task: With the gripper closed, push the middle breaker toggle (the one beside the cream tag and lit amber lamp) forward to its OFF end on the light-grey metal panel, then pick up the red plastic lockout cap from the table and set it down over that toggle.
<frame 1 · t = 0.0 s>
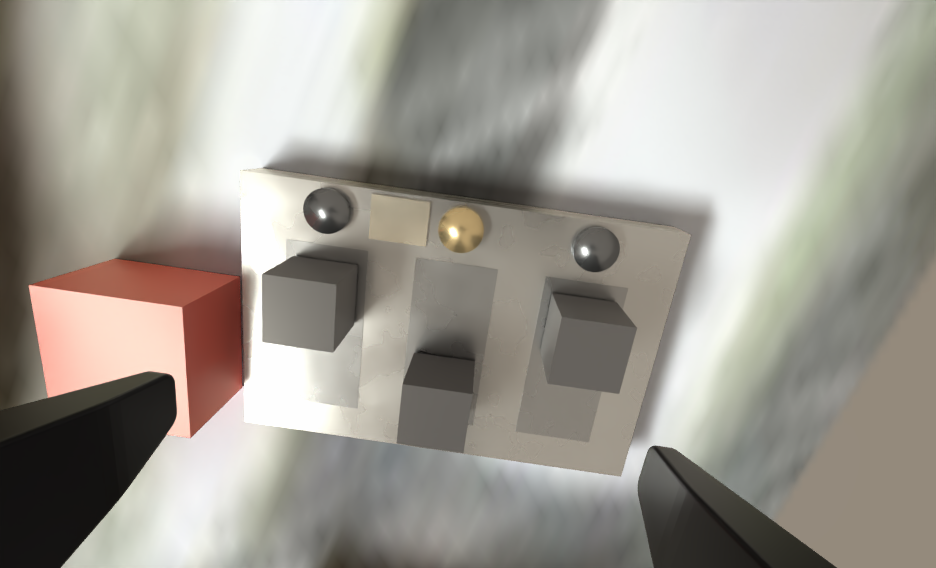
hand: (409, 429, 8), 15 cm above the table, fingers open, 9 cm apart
breaker 1: (583, 340, 20), point 4 cm above the table, slide at 4.0 cm
breaker 2: (437, 400, 21), point 4 cm above the table, slide at 0.0 cm
breaker 3: (312, 301, 20), point 4 cm above the table, slide at 4.0 cm
lockout cap: (181, 325, 24), on the table
panel: (450, 321, 24), on the table
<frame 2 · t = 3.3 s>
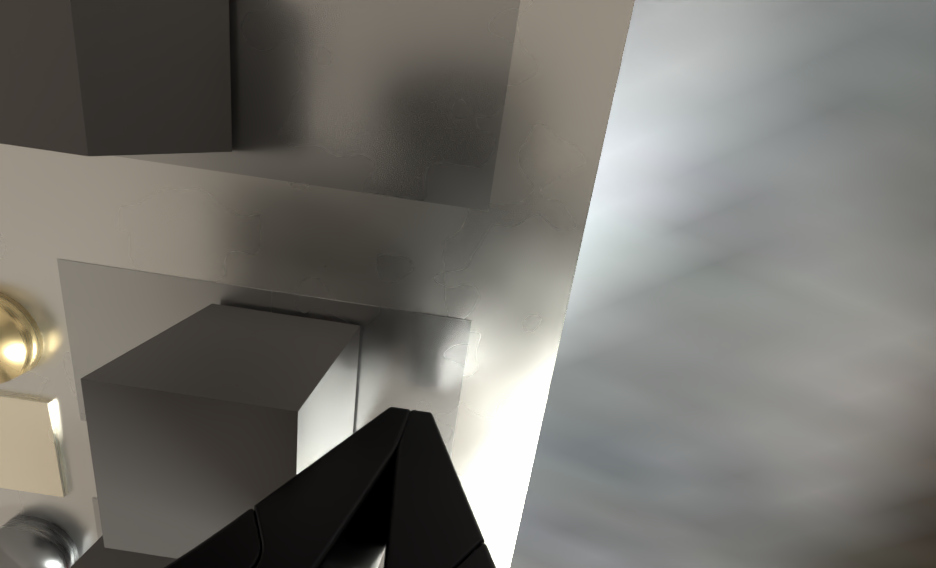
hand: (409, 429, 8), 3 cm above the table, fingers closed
breaker 1: (61, 25, 6), point 4 cm above the table, slide at 4.0 cm
breaker 2: (247, 423, 8), point 4 cm above the table, slide at 1.5 cm, touching gripper
panel: (282, 332, 11), on the table
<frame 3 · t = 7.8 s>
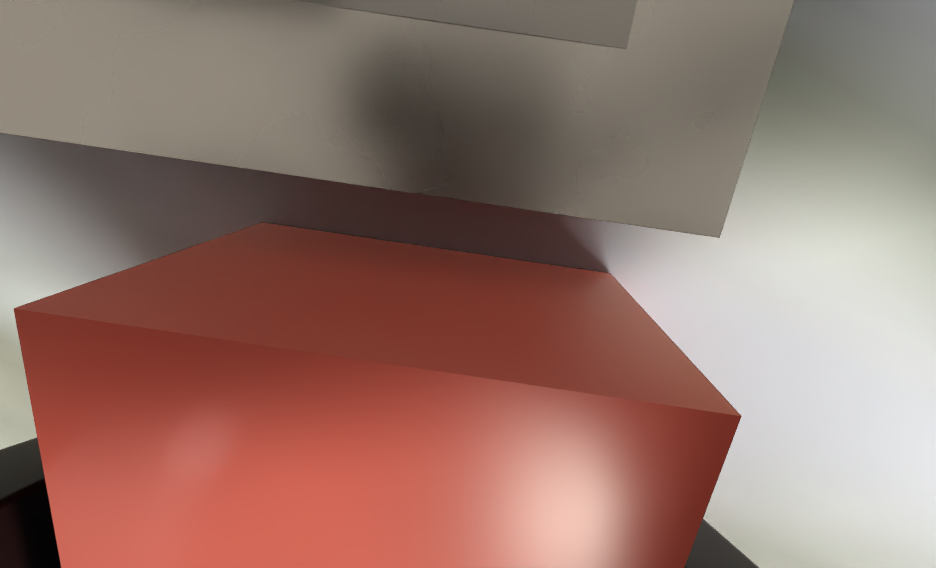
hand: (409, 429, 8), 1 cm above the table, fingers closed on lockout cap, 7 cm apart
lockout cap: (417, 400, 9), on the table, touching gripper
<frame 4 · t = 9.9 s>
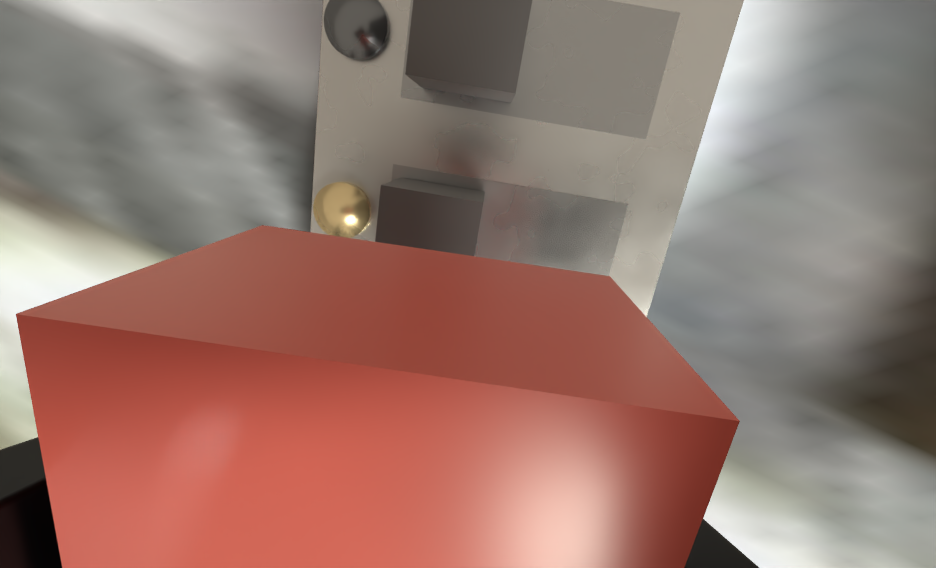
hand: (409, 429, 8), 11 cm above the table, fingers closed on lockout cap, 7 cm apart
breaker 1: (471, 34, 13), point 4 cm above the table, slide at 4.0 cm
breaker 2: (431, 234, 15), point 4 cm above the table, slide at 4.4 cm
lockout cap: (417, 402, 9), point 10 cm above the table, touching gripper
panel: (487, 224, 18), on the table
when the fingers open (4 cm above the table, at t = 11.8 s): lockout cap drops 1 cm, resting on panel.
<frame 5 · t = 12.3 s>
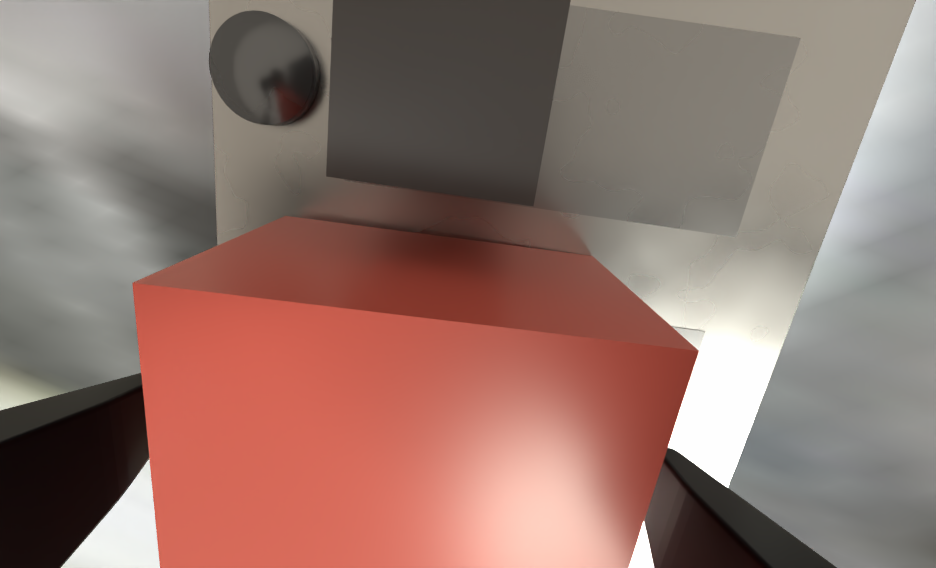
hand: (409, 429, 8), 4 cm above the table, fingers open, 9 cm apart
breaker 1: (451, 90, 7), point 4 cm above the table, slide at 4.0 cm
lockout cap: (425, 372, 11), point 2 cm above the table, touching panel
panel: (488, 340, 13), on the table
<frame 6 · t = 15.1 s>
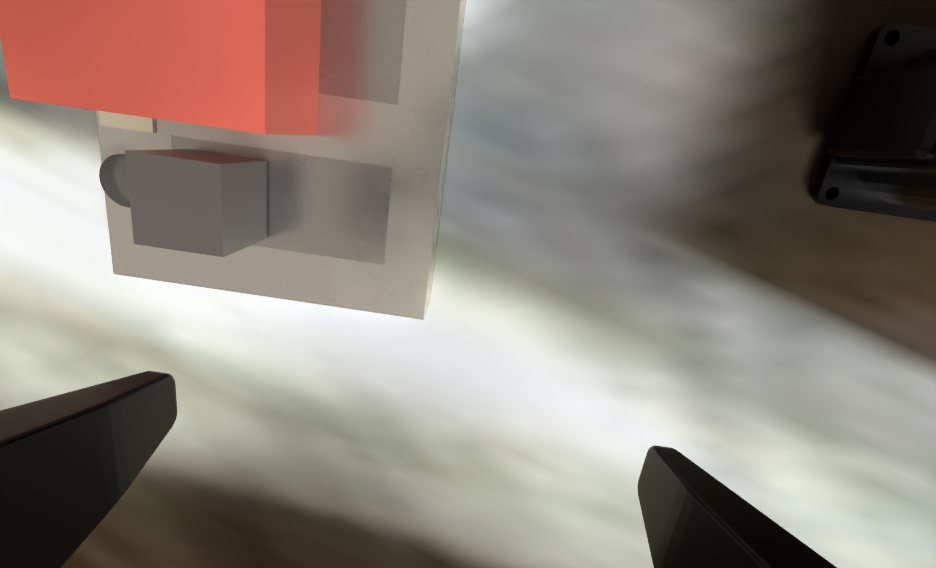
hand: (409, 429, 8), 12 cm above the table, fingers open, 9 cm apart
breaker 3: (204, 199, 16), point 4 cm above the table, slide at 4.0 cm
lockout cap: (223, 21, 15), point 2 cm above the table, touching panel
panel: (293, 39, 17), on the table
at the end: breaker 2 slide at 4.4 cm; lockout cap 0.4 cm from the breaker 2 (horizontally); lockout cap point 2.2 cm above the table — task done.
